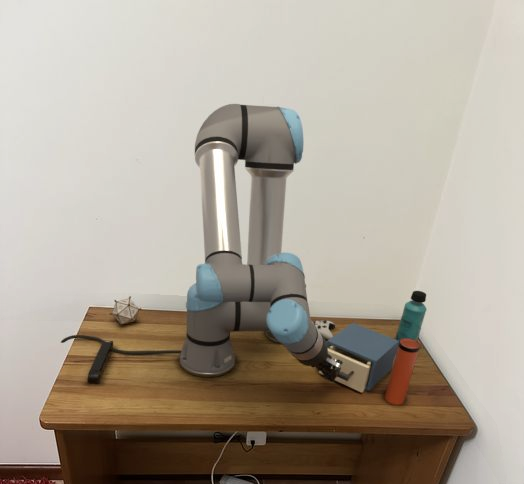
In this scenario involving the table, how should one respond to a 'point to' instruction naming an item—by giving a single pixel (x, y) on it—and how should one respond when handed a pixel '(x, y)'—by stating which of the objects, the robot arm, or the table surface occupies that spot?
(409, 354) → the orange cylinder
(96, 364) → the black long bar
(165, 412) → the table surface
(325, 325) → the game controller
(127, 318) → the game die
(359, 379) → the drawer
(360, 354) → the desk cabinet
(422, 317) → the beverage bottle
